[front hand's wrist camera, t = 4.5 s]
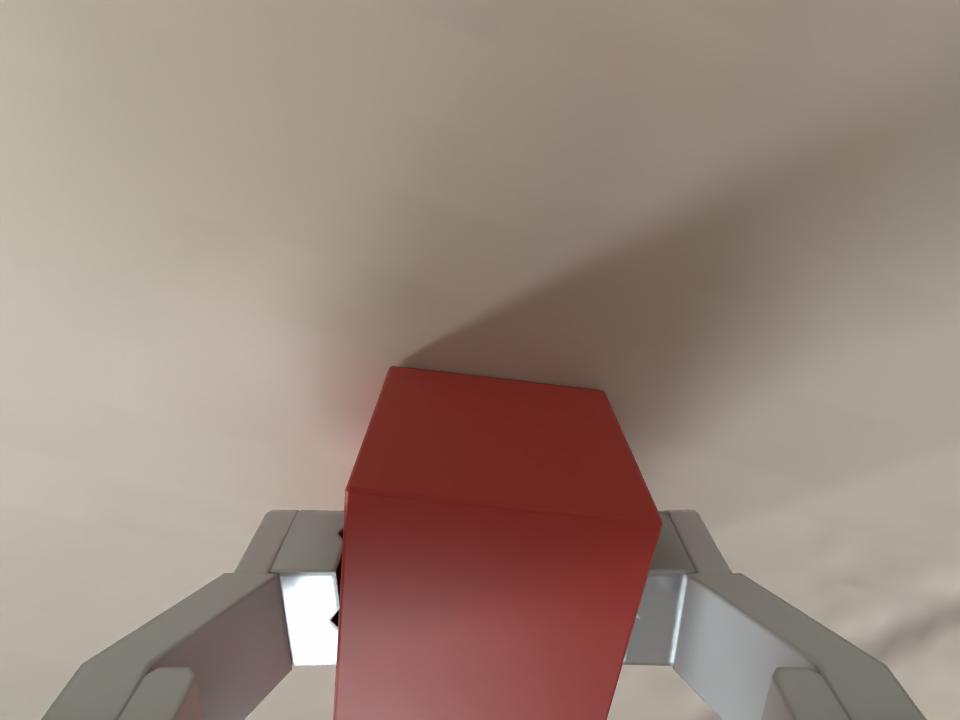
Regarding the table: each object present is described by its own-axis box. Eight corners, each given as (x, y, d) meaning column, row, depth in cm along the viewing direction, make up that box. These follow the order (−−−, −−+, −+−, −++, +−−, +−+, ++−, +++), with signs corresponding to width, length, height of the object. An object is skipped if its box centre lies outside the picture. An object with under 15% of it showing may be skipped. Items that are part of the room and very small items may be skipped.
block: (561, 587, 13) (592, 774, 9) (373, 568, 13) (330, 752, 9) (605, 389, 11) (665, 522, 8) (390, 364, 11) (345, 488, 8)
